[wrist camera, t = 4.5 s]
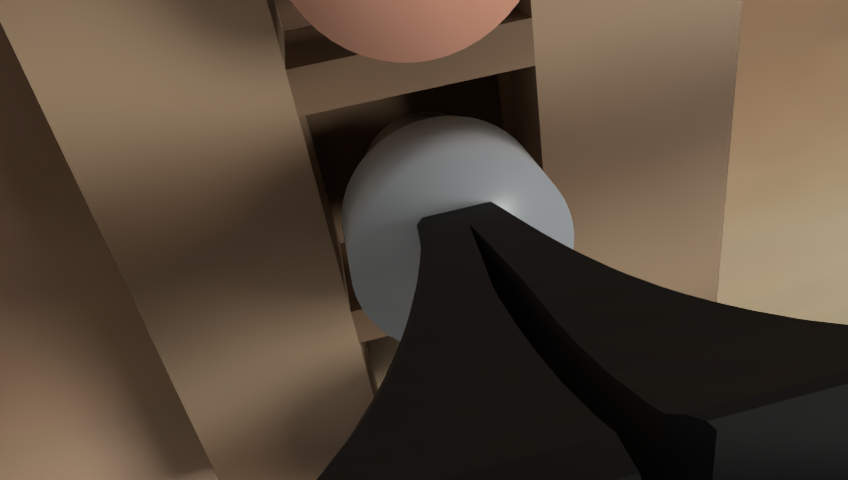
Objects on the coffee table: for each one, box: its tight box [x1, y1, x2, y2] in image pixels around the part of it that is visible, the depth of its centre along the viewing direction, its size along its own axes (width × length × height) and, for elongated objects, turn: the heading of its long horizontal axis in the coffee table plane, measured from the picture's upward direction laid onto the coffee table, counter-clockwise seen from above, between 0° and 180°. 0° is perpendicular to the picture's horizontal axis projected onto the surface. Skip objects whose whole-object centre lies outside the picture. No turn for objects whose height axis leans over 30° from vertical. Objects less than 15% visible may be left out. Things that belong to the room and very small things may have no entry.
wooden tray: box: [0, 0, 743, 480], centre depth 15 cm, size 18×13×3 cm
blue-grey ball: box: [342, 112, 574, 341], centre depth 13 cm, size 4×4×4 cm
